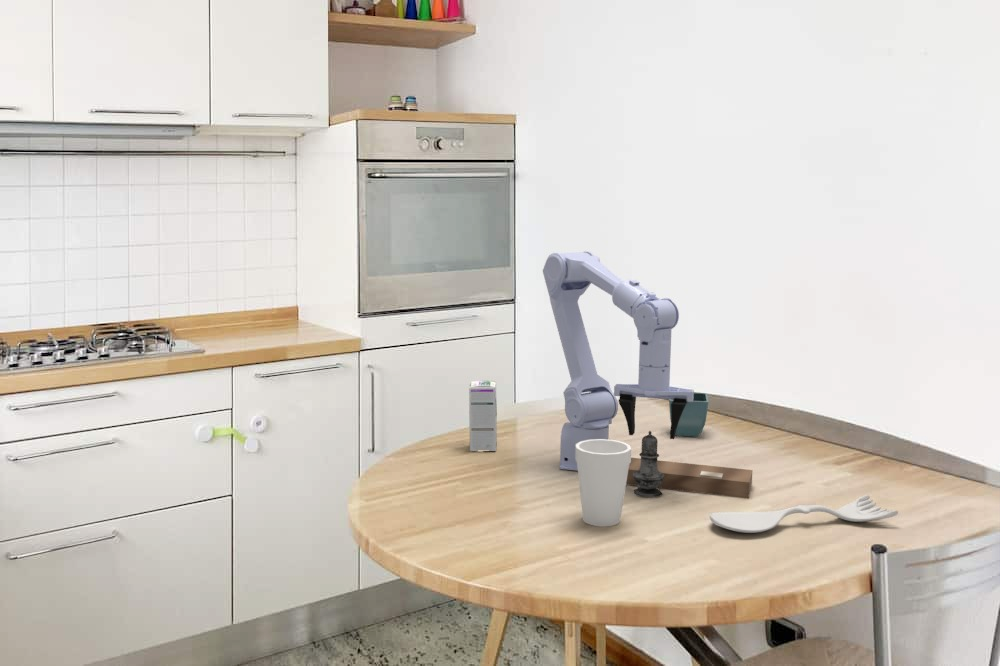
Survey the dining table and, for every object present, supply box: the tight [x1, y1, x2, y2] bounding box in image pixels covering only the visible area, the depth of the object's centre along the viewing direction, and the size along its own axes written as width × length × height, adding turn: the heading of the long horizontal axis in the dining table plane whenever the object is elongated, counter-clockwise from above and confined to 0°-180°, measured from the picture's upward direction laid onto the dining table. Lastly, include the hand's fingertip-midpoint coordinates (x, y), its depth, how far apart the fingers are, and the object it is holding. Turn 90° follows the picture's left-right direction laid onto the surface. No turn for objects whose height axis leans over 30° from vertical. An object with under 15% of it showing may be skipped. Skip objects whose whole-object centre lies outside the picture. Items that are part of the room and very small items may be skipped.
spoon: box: [709, 494, 899, 534], centre depth 159 cm, size 9×32×4 cm, turn 102°
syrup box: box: [468, 380, 498, 452], centre depth 202 cm, size 6×6×14 cm
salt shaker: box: [633, 430, 664, 499], centre depth 174 cm, size 6×6×12 cm
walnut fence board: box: [626, 457, 753, 499], centre depth 180 cm, size 24×8×3 cm, turn 71°
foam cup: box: [575, 439, 632, 528], centre depth 160 cm, size 10×9×13 cm
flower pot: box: [668, 392, 710, 438], centre depth 216 cm, size 9×9×9 cm
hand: (652, 435), depth 175 cm, fingers open, 7 cm apart
